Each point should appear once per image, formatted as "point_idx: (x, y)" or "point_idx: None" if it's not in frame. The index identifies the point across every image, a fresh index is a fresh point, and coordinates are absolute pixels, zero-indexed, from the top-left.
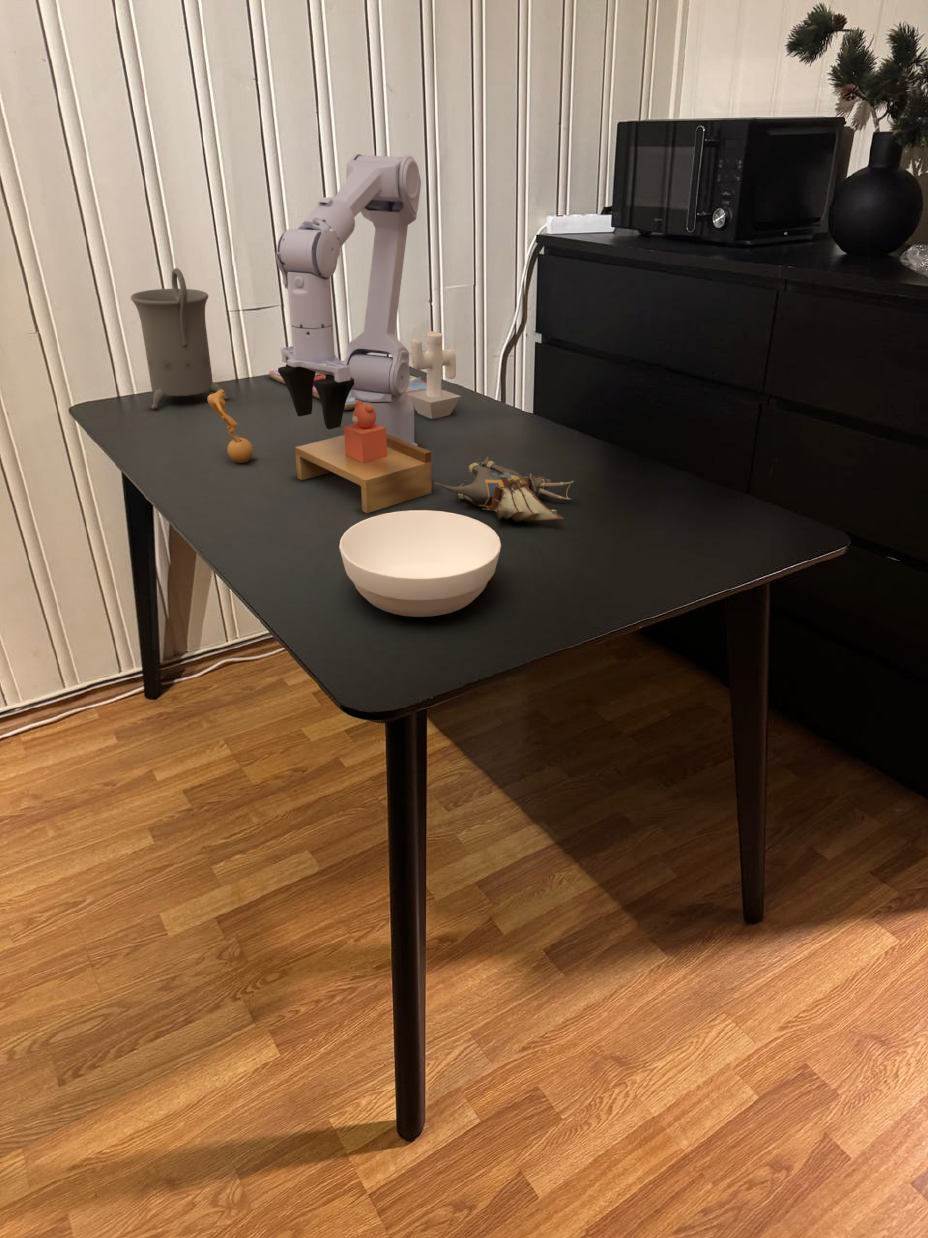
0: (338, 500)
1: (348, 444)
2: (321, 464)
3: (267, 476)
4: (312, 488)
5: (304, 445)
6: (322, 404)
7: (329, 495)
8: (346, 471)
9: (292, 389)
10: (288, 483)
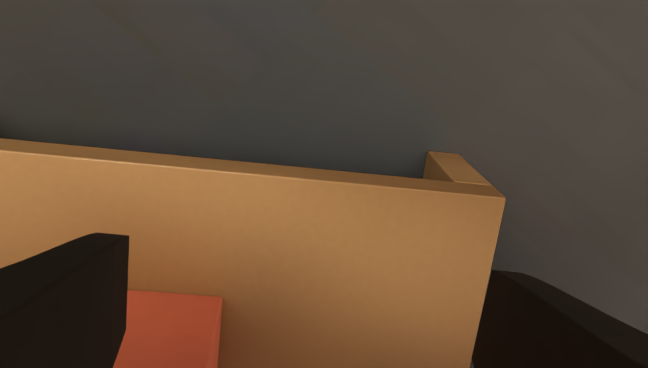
0: (142, 114)
1: (176, 327)
2: (258, 165)
3: (573, 78)
4: (325, 124)
5: (485, 245)
6: (17, 292)
7: (213, 123)
8: (18, 151)
9: (622, 358)
10: (443, 90)
